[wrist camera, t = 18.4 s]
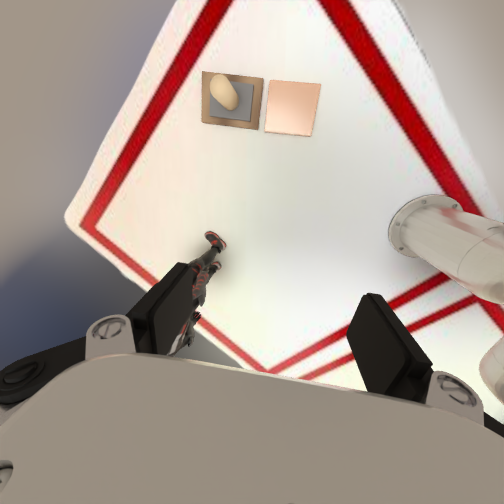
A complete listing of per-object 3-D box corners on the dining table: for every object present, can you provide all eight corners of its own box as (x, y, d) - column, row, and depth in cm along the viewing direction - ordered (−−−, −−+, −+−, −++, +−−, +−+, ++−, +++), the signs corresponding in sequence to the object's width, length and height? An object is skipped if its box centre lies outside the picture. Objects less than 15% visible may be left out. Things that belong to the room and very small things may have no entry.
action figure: (214, 225, 45) (123, 327, 18) (245, 262, 48) (206, 395, 21) (183, 250, 49) (67, 365, 22) (214, 282, 52) (146, 419, 25)
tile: (321, 84, 32) (269, 79, 32) (311, 135, 35) (264, 130, 35) (318, 88, 34) (270, 84, 34) (309, 136, 37) (265, 132, 37)
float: (254, 85, 33) (247, 66, 26) (250, 121, 35) (243, 113, 28) (211, 80, 33) (194, 60, 26) (210, 116, 36) (194, 106, 28)
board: (263, 80, 34) (263, 78, 32) (257, 129, 37) (257, 128, 36) (204, 73, 34) (201, 71, 33) (203, 122, 37) (201, 121, 36)
